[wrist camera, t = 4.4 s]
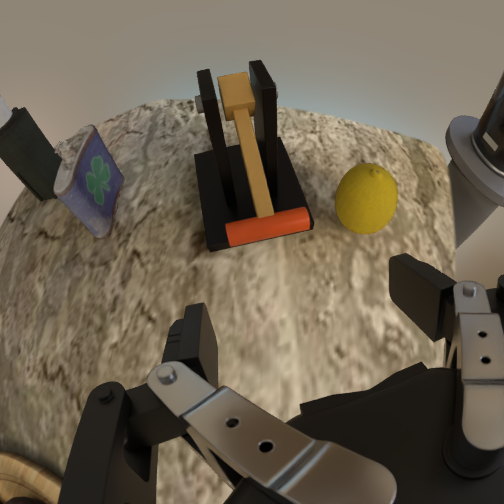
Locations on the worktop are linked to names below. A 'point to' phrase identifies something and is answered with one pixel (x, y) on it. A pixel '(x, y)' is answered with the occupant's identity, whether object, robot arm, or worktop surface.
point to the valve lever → (254, 170)
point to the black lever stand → (242, 162)
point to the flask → (89, 181)
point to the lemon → (366, 198)
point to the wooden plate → (26, 481)
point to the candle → (28, 151)
